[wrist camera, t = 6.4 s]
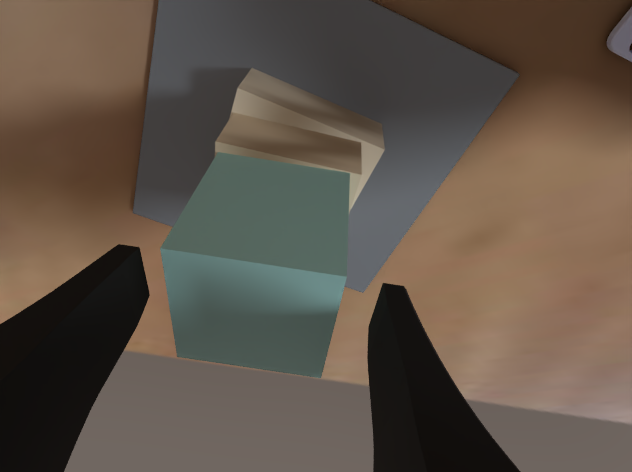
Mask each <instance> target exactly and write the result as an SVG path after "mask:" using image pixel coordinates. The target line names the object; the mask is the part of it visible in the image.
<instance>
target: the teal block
mask: <svg viewBox="0 0 632 472" xmlns="http://www.w3.org/2000/svg"><path fill="white" fill-rule="evenodd" d="M349 189H350V173H347V172H341V171H335V170H328V169H322V168H316V167H309V166H303V165H297V164H290V163H284V162H278V161H272V160H265V159H259V158H253V157H246V156H240V155H234V154H227V153H221V152H218V153H217V155H216V156H215V158H214V160H213V161H212V163H211V165H210V166H209V168H208V170H207V171H206V173H205V175H204V176H203V178H202V180H201V181H200V183H199V185H198V186H197V188H196V190H195V191H194V193H193V195H192V196H191V198H190V200H189V201H188V203H187V205H186V206H185V208H184V210H183V211H182V213H181V215H180V216H179V218H178V220H177V221H176V223H175V225H174V226H173V228H172V230H171V231H170V233H169V235H168V236H167V238H166V240H165V241H164V243H163V245H162V246H161V248H160V249H161V256H162V262H163V268H164V275H165V281H166V288H167V294H168V300H169V307H170V313H171V320H172V326H173V332H174V339H175V345H176V351H177V357H182V358H189V359H195V360H202V361H209V362H216V363H222V364H229V365H236V366H243V367H249V368H256V369H263V370H270V371H276V372H283V373H290V374H297V375H303V376H310V377H317V378H321V376H322V372H323V368H324V364H325V360H326V356H327V352H328V348H329V345H330V341H331V337H332V333H333V329H334V325H335V321H336V317H337V313H338V310H339V306H340V302H341V298H342V294H343V290H344V286H345V282H346V278H347V256H348V222H349Z"/></svg>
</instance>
